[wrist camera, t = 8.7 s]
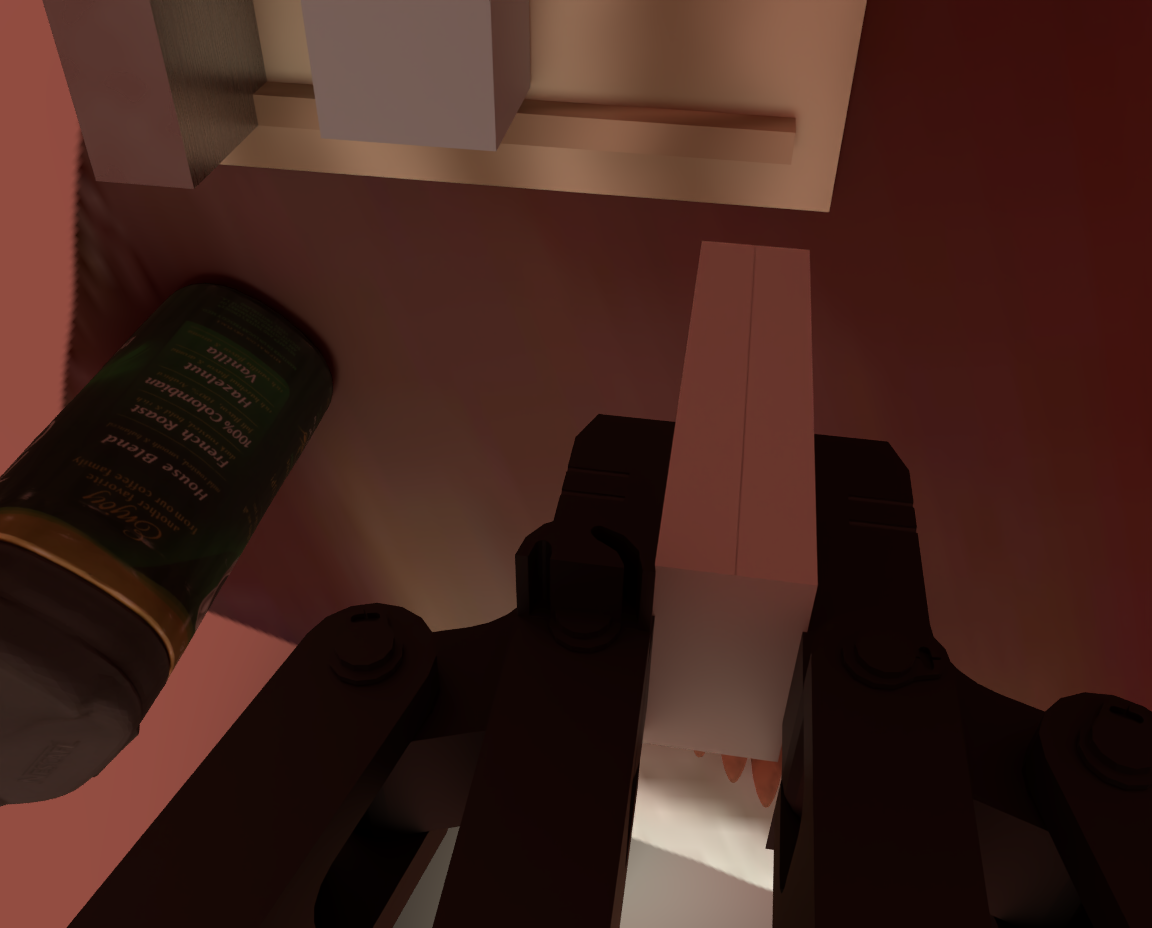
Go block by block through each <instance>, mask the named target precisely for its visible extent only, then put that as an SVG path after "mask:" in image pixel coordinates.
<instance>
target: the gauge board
mask: <svg viewBox="0 0 1152 928" xmlns="http://www.w3.org/2000/svg"><path fill="white" fill-rule="evenodd" d="M866 2H867V0H529V27H530V89H529V91H528V93H527V95H526V97H525V98H524V100H523V102H522V104H521V106H520V108H519V110H518V112H517V113H516V115H515V117H514V119H513V121H512V123H511V125H510V127H509V128H508V130H507V132H506V134H505V136H504V138H503V140H502V141H501V143H500V145H499V147H498V149H497V151H484V150H471V149H457V148H444V147H430V146H417V145H404V144H390V143H377V142H364V141H350V140H337V139H324V138H321V134H320V128H319V121H318V114H317V108H316V101H315V94H314V87H313V81H312V74H311V67H310V60H309V54H308V47H307V40H306V34H305V27H304V20H303V13H302V7H301V0H253V4H254V10H255V15H256V21H257V27H258V32H259V38H260V44H261V50H262V55H263V61H264V67H265V72H266V78H267V82H266V83H265V84H264V85H263V86H262V87H260V88H259V89H258V90H257V91H256V92H255V93H254V94H253V99H254V104H255V110H256V115H257V120H258V126H257V127H256V128H255V129H254V130H253V131H252V132H251V133H250V134H249V135H248V136H247V137H246V138H245V139H244V140H243V141H242V142H241V143H240V144H239V145H238V146H237V147H236V148H235V149H234V150H233V151H232V152H231V153H230V154H229V155H228V156H227V157H226V158H225V159H224V160H223V161H222V162H221V163H220V164H224V165H237V166H250V167H263V168H275V169H288V170H301V171H313V172H326V173H339V174H352V175H364V176H377V177H390V178H402V179H415V180H428V181H441V182H453V183H466V184H479V185H492V186H504V187H517V188H530V189H542V190H555V191H568V192H581V193H593V194H606V195H619V196H631V197H644V198H657V199H670V200H682V201H695V202H708V203H720V204H733V205H746V206H759V207H771V208H784V209H797V210H810V211H822V212H829V209H830V204H831V198H832V193H833V187H834V181H835V176H836V170H837V165H838V159H839V153H840V148H841V142H842V137H843V131H844V125H845V120H846V114H847V108H848V103H849V97H850V92H851V86H852V80H853V75H854V69H855V64H856V58H857V52H858V47H859V41H860V36H861V30H862V24H863V19H864V13H865V8H866Z"/></svg>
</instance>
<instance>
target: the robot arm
mask: <svg viewBox="0 0 1152 928" xmlns="http://www.w3.org/2000/svg"><path fill="white" fill-rule="evenodd" d="M916 528H917V525H916V518H915V510H914V508H913V495H912V488H911V480H910V473H909V470H908V468H907V467H906V466H905V464H904V463H903V462H902V460H901V459H900V458H899V456H898V455H897V453H896V452H895V451H894V449H893V448H892V447H891V445H890V444H889V443H888V442H885V441H876V440H866V439H857V438H847V437H838V436H828V435H819V434H814V412H813V371H812V330H811V288H810V250H804V249H793V248H781V247H769V246H757V245H746V244H734V243H722V242H710V241H702V245H701V252H700V259H699V265H698V272H697V279H696V286H695V293H694V300H693V307H692V313H691V320H690V327H689V334H688V341H687V348H686V355H685V361H684V368H683V375H682V382H681V389H680V396H679V402H678V409H677V416H676V422H669V421H660V420H650V419H641V418H631V417H622V416H612V415H603V414H598V415H597V416H596V417H595V418H594V419H593V420H592V421H591V422H590V423H589V424H588V425H587V426H586V427H585V428H584V429H583V430H582V431H581V432H580V433H579V434H578V435H577V436H576V438H575V441H574V445H573V449H572V453H571V457H570V460H569V464H568V471H567V472H566V476H565V479H564V483H563V487H562V494H561V495H560V498H559V502H558V506H557V510H556V513H555V517H554V521H552V522H549V523H546V524H544V525H542V526H541V527H539V528H538V529H537V530H535V531H534V532H532V533H531V534H529V535H528V536H527V537H525V539H524V541H523V543H522V544H521V546H520V548H519V549H518V551H517V553H516V554H515V565H516V593H517V608H516V609H514V610H513V611H512V612H510V613H509V614H507V615H505V616H503V617H501V618H499V619H496V620H494V621H492V622H489V623H485V624H481V625H477V626H472V627H467V628H460V629H452V630H445V631H437V632H432V631H431V630H430V629H429V627H428V626H427V624H426V623H425V622H424V620H423V619H422V618H421V617H419V616H417V615H416V614H414V613H412V612H410V611H408V610H407V609H405V608H403V607H399V606H393V605H387V604H381V603H373V604H365V605H357V606H351V607H348V608H346V609H344V610H341V611H339V612H337V613H334V614H332V615H330V616H328V617H326V618H325V619H324V620H322V621H321V622H320V623H319V624H318V625H317V626H315V627H314V628H313V629H312V630H311V631H310V632H309V633H307V635H306V636H305V637H304V638H303V640H302V641H301V642H300V643H299V644H298V646H297V647H296V648H295V649H294V651H293V652H292V653H291V654H290V656H289V657H288V658H287V659H286V661H285V662H284V663H283V664H282V665H281V666H280V668H279V669H278V670H277V671H276V673H275V674H274V675H273V676H272V678H271V679H270V680H269V681H268V682H267V684H266V685H265V686H264V687H263V688H262V690H261V691H260V692H259V693H258V695H257V696H256V697H255V698H254V699H253V701H252V702H251V703H250V704H249V706H248V707H247V708H246V709H245V710H244V712H243V713H242V714H241V715H240V716H239V718H238V719H237V720H236V721H235V723H234V724H233V725H232V726H231V728H230V729H229V730H228V731H227V732H226V734H225V735H224V736H223V737H222V738H221V740H220V741H219V742H218V744H217V745H216V746H215V747H214V748H213V749H212V751H211V752H210V753H209V754H208V756H207V757H206V758H205V759H204V761H203V762H202V763H201V764H200V765H199V767H198V768H197V769H196V771H195V772H194V773H193V774H192V775H191V776H190V778H189V779H188V780H187V781H186V783H185V784H184V785H183V786H182V787H181V789H180V790H179V791H178V792H177V793H176V795H175V796H174V797H173V798H172V800H171V801H170V802H169V803H168V805H167V806H166V807H165V808H164V809H163V811H162V812H161V813H160V814H159V816H158V817H157V818H156V819H155V820H154V822H153V823H152V824H151V825H150V826H149V828H148V829H147V830H146V831H145V833H144V834H143V835H142V836H141V838H140V839H139V840H138V841H137V842H136V844H135V845H134V846H133V847H132V848H131V850H130V851H129V852H128V853H127V854H126V856H125V857H124V858H123V860H122V861H121V862H120V863H119V864H118V866H117V867H116V868H115V869H114V870H113V872H112V873H111V874H110V875H109V876H108V878H107V879H106V880H105V881H104V883H103V884H102V885H101V886H100V887H99V889H98V890H97V891H96V892H95V894H94V895H93V896H92V897H91V899H90V900H89V901H88V902H87V904H86V905H85V906H84V907H83V908H82V909H81V911H80V912H79V913H78V914H77V916H76V917H75V918H74V919H73V920H72V922H71V923H70V924H69V925H68V927H67V928H393V926H394V924H395V922H396V921H397V919H398V917H399V915H400V914H401V912H402V910H403V908H404V907H405V905H406V903H407V901H408V900H409V898H410V896H411V894H412V892H413V890H414V889H415V887H416V885H417V884H418V882H419V880H420V878H421V877H422V875H423V873H424V871H425V870H426V868H427V866H428V864H429V863H430V861H431V859H432V857H433V856H434V854H435V852H436V850H437V849H438V847H439V845H440V843H441V842H442V840H443V838H444V836H445V835H446V833H447V830H448V828H451V827H457V826H460V828H459V831H458V835H457V839H456V843H455V846H454V850H453V854H452V857H451V861H450V865H449V868H448V872H447V876H446V879H445V883H444V887H443V890H442V894H441V898H440V902H439V905H438V909H437V912H436V916H435V920H434V924H433V927H432V928H620V920H621V911H622V904H623V897H624V889H625V881H626V873H627V866H628V858H629V850H630V842H631V835H632V827H633V819H634V812H635V804H636V796H637V789H638V777H639V765H640V756H641V748H642V743H646V744H653V745H660V746H667V747H674V748H681V749H688V750H696V751H703V752H710V753H717V754H724V755H731V756H738V757H745V758H752V759H759V760H766V761H773V762H778V759H779V755H780V750H781V746H782V780H781V784H780V788H779V792H778V797H777V801H776V805H775V810H774V814H773V818H772V822H771V827H770V831H769V835H768V840H767V844H766V848H765V849H772V850H774V874H773V925H772V926H773V928H1152V712H1151V711H1149V710H1148V709H1147V708H1145V707H1143V706H1141V705H1138V704H1135V703H1133V702H1130V701H1127V700H1125V699H1122V698H1120V697H1117V696H1114V695H1106V694H1096V693H1086V692H1084V693H1080V694H1076V695H1072V696H1068V697H1064V698H1060V699H1059V700H1058V701H1057V702H1056V703H1055V704H1053V705H1052V706H1051V707H1050V708H1049V709H1048V710H1047V711H1045V712H1044V711H1042V710H1039V709H1036V708H1034V707H1031V706H1029V705H1026V704H1024V703H1021V702H1018V701H1016V700H1013V699H1011V698H1008V697H1006V696H1003V695H1001V694H998V693H996V692H994V691H992V690H990V689H988V688H986V687H984V686H982V685H980V684H977V683H976V682H975V681H973V680H972V679H970V678H969V677H968V676H966V675H965V674H963V673H962V672H960V671H959V670H958V669H957V668H956V667H955V666H954V665H953V664H952V663H951V662H950V659H949V657H948V654H947V652H946V649H945V648H944V647H943V646H942V645H941V644H940V643H939V642H938V641H937V640H936V639H935V638H934V637H933V633H932V630H931V627H930V622H929V615H928V607H927V600H926V592H925V585H924V577H923V570H922V563H921V555H920V548H919V540H918V533H916Z"/></svg>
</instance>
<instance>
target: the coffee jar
mask: <svg viewBox="0 0 1152 928" xmlns="http://www.w3.org/2000/svg"><path fill="white" fill-rule="evenodd" d="M332 393H333V383H332V376H331V373H330V370H329V368H328V365H327V363H326V361H325V359H324V358H323V356H322V355H321V353H320V352H319V351H318V350H317V349H316V348H315V346H314V345H313V344H312V343H311V342H310V341H309V340H308V339H307V338H306V337H305V336H304V335H303V334H302V333H301V332H300V331H299V330H298V329H297V328H296V327H294V326H293V325H292V324H291V323H289V322H288V321H287V320H286V319H285V318H284V317H282V316H281V315H280V314H278V313H277V312H275V311H273V310H272V309H270V308H269V307H268V306H266V305H264V304H263V303H261V302H259V301H258V300H256V299H253V298H251V297H249V296H247V295H245V294H243V293H241V292H239V291H237V290H234V289H231V288H229V287H225V286H220V285H214V284H209V283H202V284H194V285H189V286H186V287H183V288H181V289H179V290H178V291H176V292H174V293H173V294H172V295H171V296H170V297H169V298H168V299H167V300H166V301H165V302H163V304H162V305H161V306H160V307H159V308H158V309H157V310H156V311H155V312H154V313H153V314H152V315H151V316H150V317H149V318H148V319H147V320H146V321H145V322H144V323H143V324H142V325H141V326H140V327H139V328H138V329H137V331H136V332H135V333H134V334H133V335H132V336H131V337H130V338H129V339H128V340H127V341H126V342H125V343H124V345H123V346H122V347H121V348H120V349H119V350H118V351H117V352H116V353H115V354H114V356H113V357H112V358H111V359H110V360H109V361H108V362H107V363H106V364H105V365H104V366H103V368H102V369H101V370H100V371H99V372H98V373H97V374H96V375H95V377H94V378H93V379H92V380H91V381H90V382H89V383H88V384H87V385H86V386H85V387H84V388H83V389H82V390H81V392H80V393H79V394H78V395H77V396H76V397H75V398H74V399H73V400H72V401H71V402H70V403H69V404H68V405H67V406H66V407H65V408H64V409H63V410H62V411H61V412H60V413H59V414H58V415H57V417H56V418H55V419H54V420H53V421H52V422H51V423H50V424H49V425H48V426H47V427H46V428H45V429H44V430H43V431H42V432H41V433H40V435H38V436H37V437H36V438H35V439H34V441H33V442H32V443H31V444H30V445H29V446H28V447H27V448H26V449H25V450H24V452H23V453H22V454H21V455H20V456H19V457H18V458H17V459H16V460H15V462H14V463H13V464H12V465H11V466H10V467H9V468H8V469H7V470H6V471H5V473H4V474H3V475H2V476H1V477H0V806H3V805H6V804H20V803H30V802H38V801H45V800H49V799H53V798H57V797H60V796H63V795H66V794H68V793H70V792H72V791H74V790H76V789H77V788H79V787H80V786H82V785H83V784H84V783H86V782H87V781H88V780H89V779H91V778H92V777H95V776H97V775H98V774H99V773H100V772H101V771H102V770H103V769H104V768H105V767H106V766H107V765H108V764H109V763H110V762H111V761H112V760H113V759H114V758H115V757H116V756H117V755H118V754H119V753H120V751H121V750H123V749H124V748H125V747H126V746H127V745H128V744H129V743H130V742H131V741H132V740H133V739H134V738H135V737H136V736H137V735H138V734H139V726H140V725H139V724H140V723H141V721H142V720H143V718H144V717H145V715H146V713H147V712H148V710H149V709H150V707H151V706H152V704H153V703H154V701H155V699H156V698H157V696H158V695H159V693H160V691H161V690H162V689H163V687H164V686H165V684H166V682H167V680H168V678H169V676H170V674H171V673H172V671H173V669H174V667H175V666H176V664H177V662H178V661H179V659H180V657H181V656H182V654H183V652H184V651H185V649H186V647H187V646H188V644H189V642H190V640H191V639H192V637H193V635H194V633H195V631H196V630H197V628H198V626H199V625H200V623H201V621H202V619H203V618H204V616H205V614H206V613H207V611H208V609H209V608H210V606H211V604H212V602H213V601H214V599H215V597H216V595H217V594H218V592H219V590H220V589H221V587H222V585H223V584H224V582H225V581H226V579H227V577H228V575H229V574H230V572H231V570H232V569H233V567H234V565H235V563H236V562H237V560H238V558H239V557H240V555H241V553H242V552H243V550H244V548H245V546H246V545H247V543H248V541H249V540H250V538H251V536H252V534H253V533H254V531H255V529H256V527H257V525H258V524H259V522H260V520H261V519H262V517H263V515H264V514H265V512H266V510H267V509H268V507H269V505H270V504H271V502H272V500H273V498H274V497H275V495H276V493H277V492H278V490H279V488H280V487H281V485H282V484H283V482H284V480H285V479H286V477H287V476H288V474H289V472H290V471H291V469H292V468H293V466H294V465H295V463H296V461H297V460H298V458H299V456H300V455H301V453H302V451H303V450H304V448H305V446H306V445H307V443H308V441H309V440H310V438H311V436H312V434H313V433H314V431H315V429H316V428H317V426H318V424H319V422H320V421H321V419H322V417H323V415H324V414H325V412H326V410H327V408H328V406H329V404H330V402H331V398H332Z"/></svg>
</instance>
